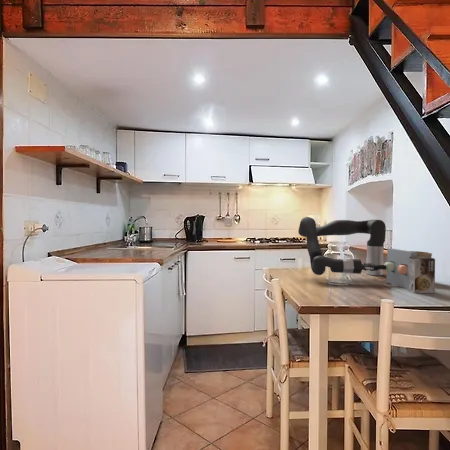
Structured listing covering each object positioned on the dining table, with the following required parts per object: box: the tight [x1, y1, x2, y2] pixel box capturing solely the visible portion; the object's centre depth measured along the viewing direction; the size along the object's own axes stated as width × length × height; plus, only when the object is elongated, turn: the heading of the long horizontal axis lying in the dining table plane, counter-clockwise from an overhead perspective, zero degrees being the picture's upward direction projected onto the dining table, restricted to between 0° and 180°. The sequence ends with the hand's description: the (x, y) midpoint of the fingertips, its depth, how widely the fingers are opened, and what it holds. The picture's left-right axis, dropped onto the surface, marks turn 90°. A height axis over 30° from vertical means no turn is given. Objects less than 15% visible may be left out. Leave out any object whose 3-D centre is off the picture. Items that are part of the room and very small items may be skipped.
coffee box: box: [408, 257, 436, 294], centre depth 163 cm, size 9×6×16 cm
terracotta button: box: [398, 265, 408, 274], centre depth 172 cm, size 4×7×4 cm, turn 96°
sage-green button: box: [383, 261, 395, 272], centre depth 181 cm, size 4×7×4 cm, turn 96°
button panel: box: [386, 248, 417, 291], centre depth 177 cm, size 20×3×18 cm, turn 6°
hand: (385, 267), depth 181 cm, fingers closed
